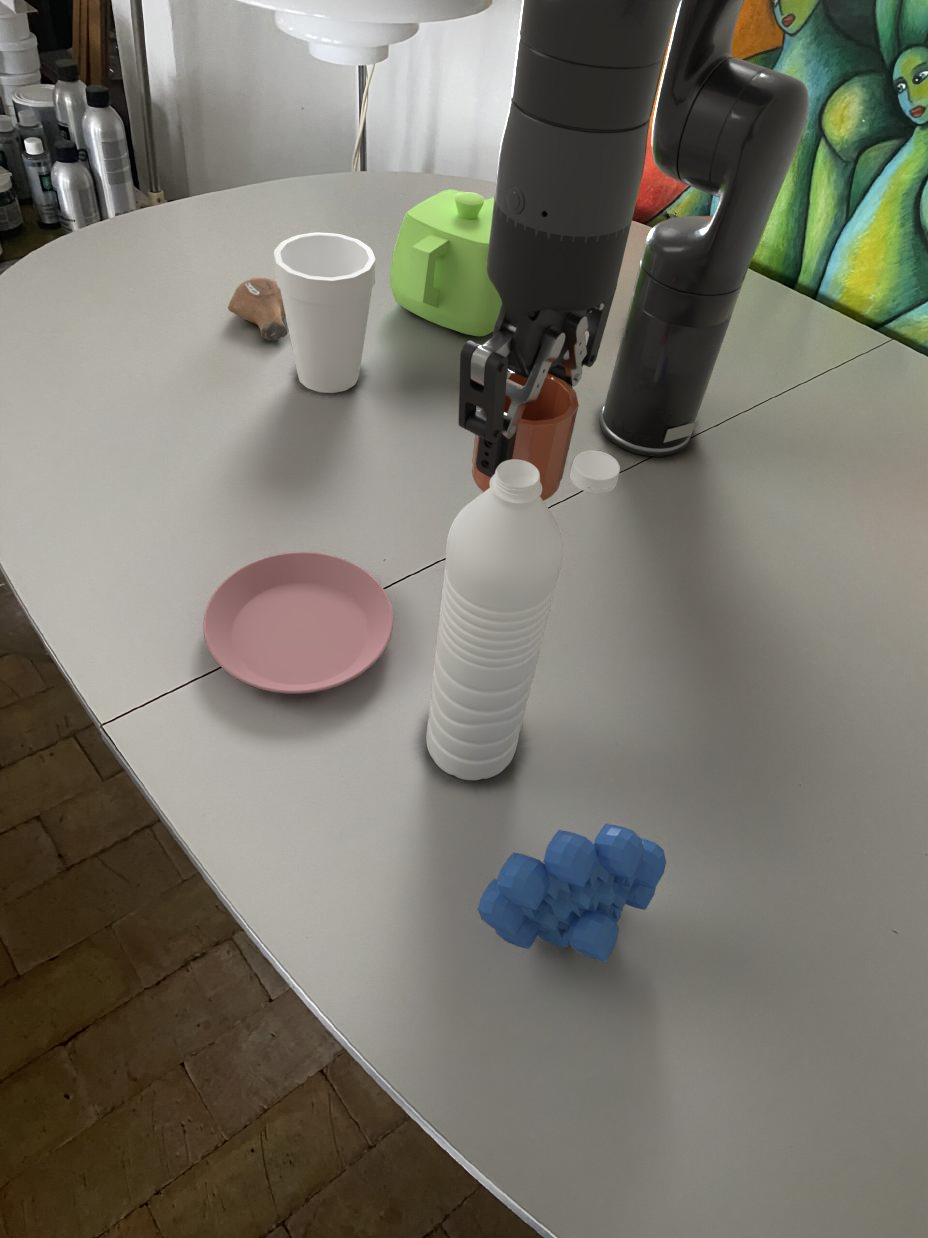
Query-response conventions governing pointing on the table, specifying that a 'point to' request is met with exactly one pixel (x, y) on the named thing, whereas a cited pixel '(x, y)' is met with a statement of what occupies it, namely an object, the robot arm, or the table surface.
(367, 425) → the table surface
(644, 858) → the grapes
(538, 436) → the terracotta cup
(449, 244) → the teapot
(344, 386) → the foam cup
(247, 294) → the oil lamp
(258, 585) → the plate
